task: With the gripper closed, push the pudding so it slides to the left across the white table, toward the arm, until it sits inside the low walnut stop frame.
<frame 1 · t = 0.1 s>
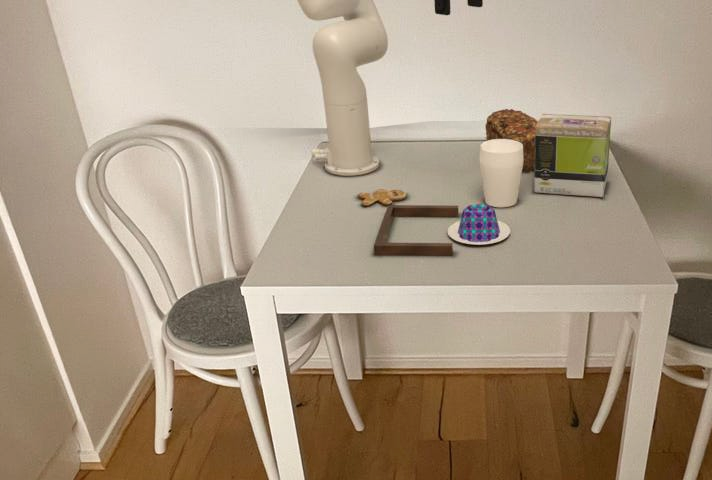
hand: (459, 10, 140), 37 cm above the table, tool pointing down, fingers open, 9 cm apart
tea box: (570, 188, 165), on the table
cookie: (383, 199, 160), on the table
pudding: (479, 235, 145), on the table
cup: (501, 202, 159), on the table
bread: (519, 159, 181), on the table
stop frame: (427, 233, 146), on the table
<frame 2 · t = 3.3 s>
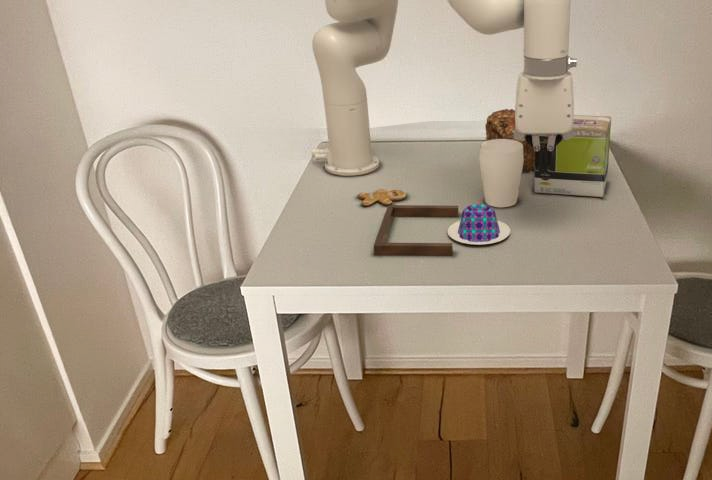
hand: (542, 169, 138), 13 cm above the table, tool pointing down, fingers closed
nothing on the table moved.
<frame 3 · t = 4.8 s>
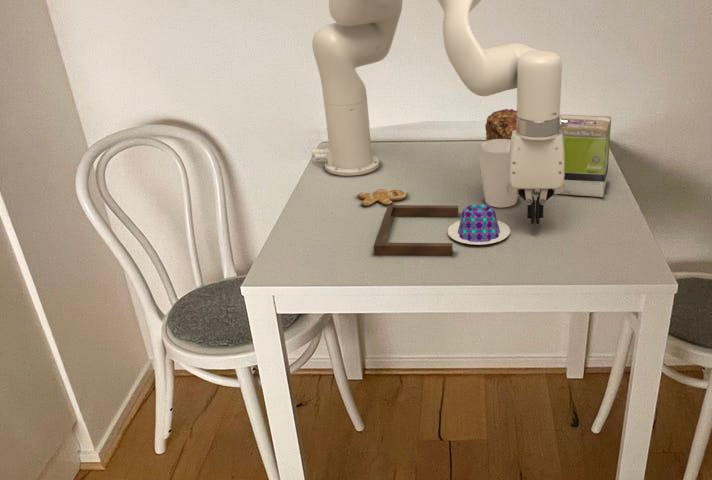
hand: (535, 221, 143), 3 cm above the table, tool pointing down, fingers closed
nothing on the table moved.
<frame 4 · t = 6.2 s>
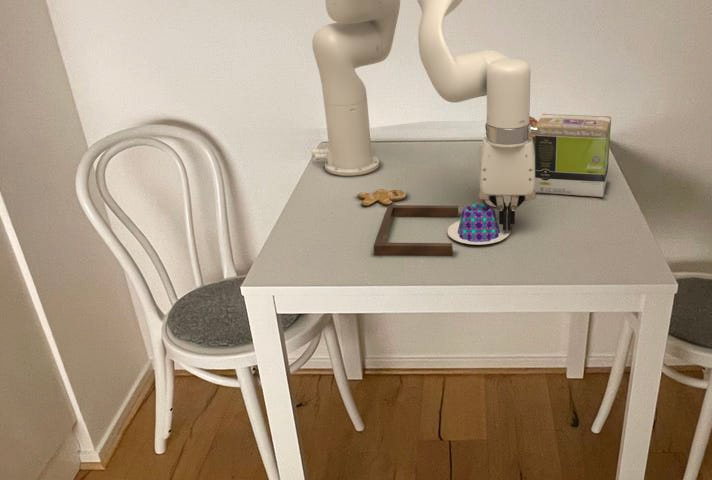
hand: (506, 227, 144), 2 cm above the table, tool pointing down, fingers closed
pudding: (478, 235, 145), on the table, touching gripper
everything else where it was.
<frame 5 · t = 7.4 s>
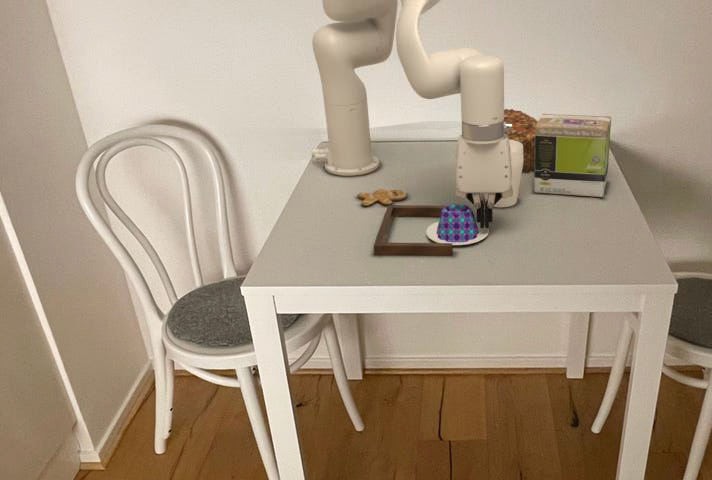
hand: (484, 225, 144), 2 cm above the table, tool pointing down, fingers closed
pudding: (457, 235, 145), on the table, touching gripper
everything else where it was.
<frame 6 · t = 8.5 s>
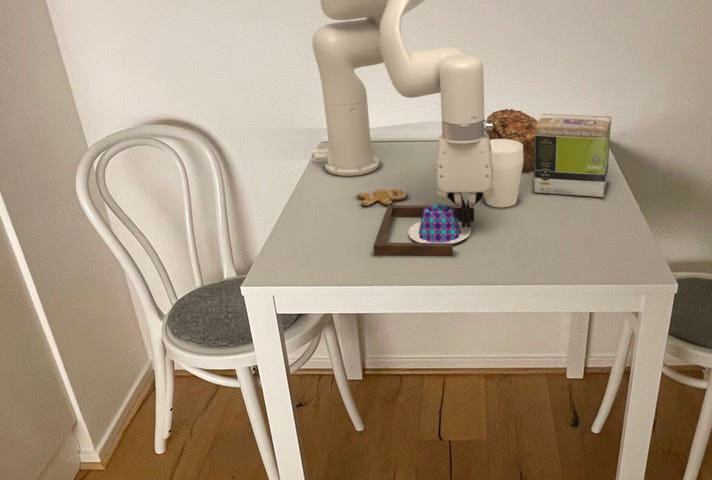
hand: (466, 224, 144), 2 cm above the table, tool pointing down, fingers closed
pudding: (439, 235, 145), on the table, touching gripper
everything else where it was.
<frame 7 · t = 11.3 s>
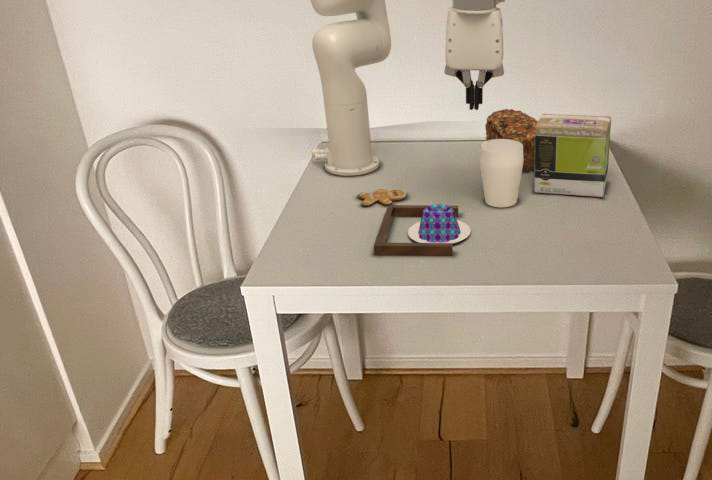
hand: (474, 107, 139), 22 cm above the table, tool pointing down, fingers closed
pudding: (439, 235, 145), on the table
everything else where it was.
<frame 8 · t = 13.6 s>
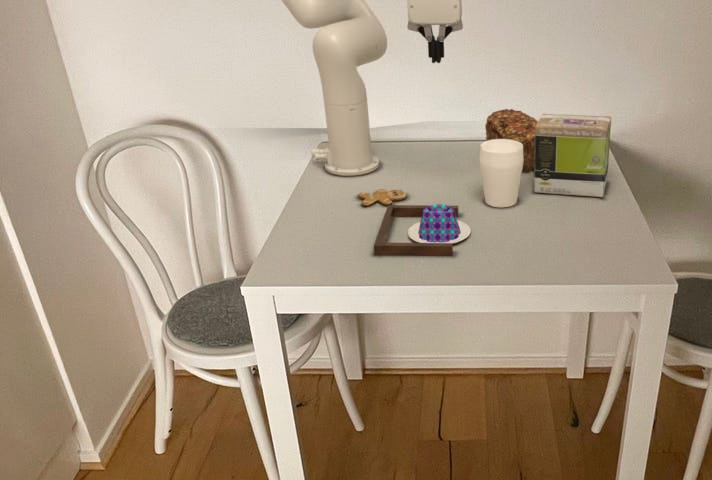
hand: (436, 61, 150), 27 cm above the table, tool pointing down, fingers closed
nothing on the table moved.
at the end: pudding 2.4 cm off-centre on the stop frame, point 0.0 cm above the stop frame's base; pudding moved 7.6 cm from its start; pudding tilted 0° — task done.
